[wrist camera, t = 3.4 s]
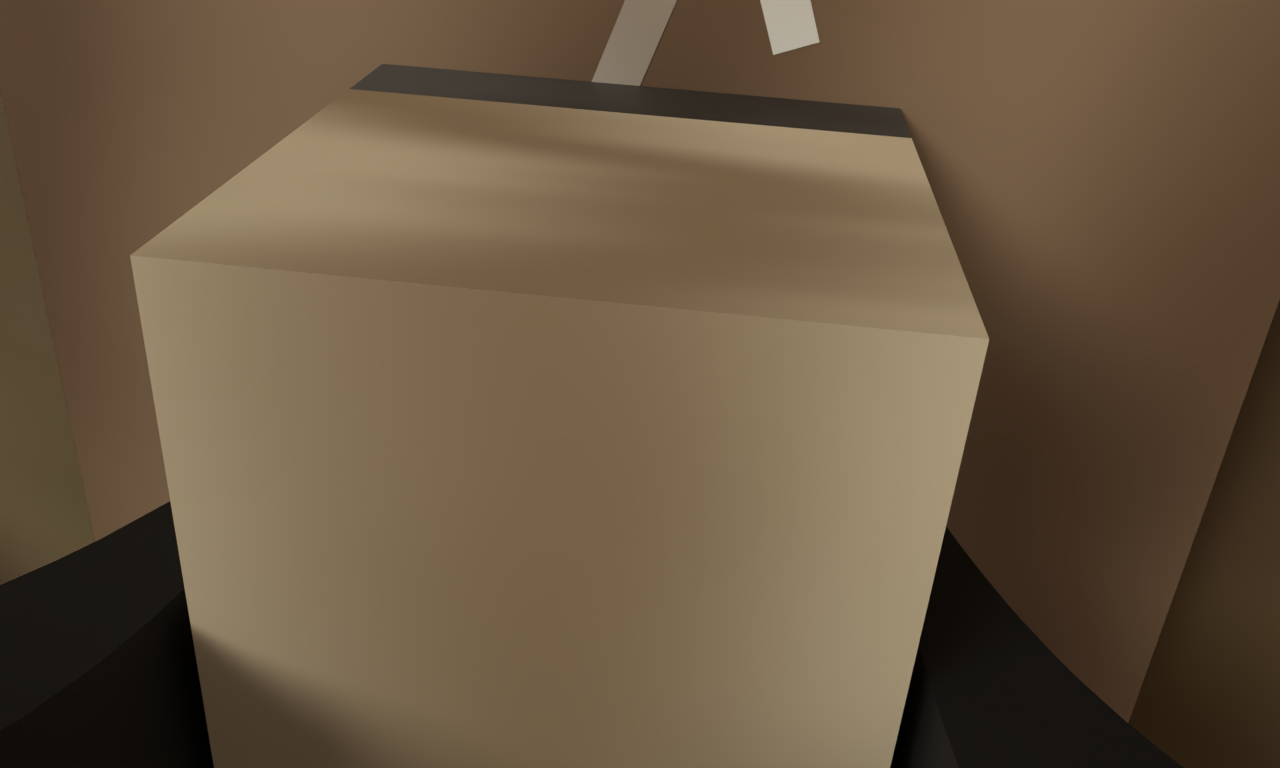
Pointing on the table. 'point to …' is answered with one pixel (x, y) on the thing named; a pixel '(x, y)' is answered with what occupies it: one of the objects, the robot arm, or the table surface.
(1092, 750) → the robot arm
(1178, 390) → the walnut board
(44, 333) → the table surface
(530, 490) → the block
